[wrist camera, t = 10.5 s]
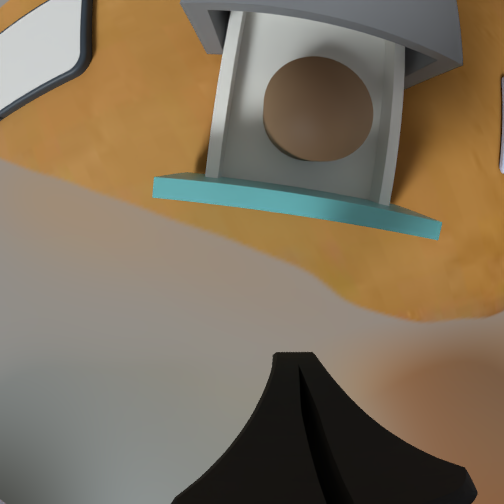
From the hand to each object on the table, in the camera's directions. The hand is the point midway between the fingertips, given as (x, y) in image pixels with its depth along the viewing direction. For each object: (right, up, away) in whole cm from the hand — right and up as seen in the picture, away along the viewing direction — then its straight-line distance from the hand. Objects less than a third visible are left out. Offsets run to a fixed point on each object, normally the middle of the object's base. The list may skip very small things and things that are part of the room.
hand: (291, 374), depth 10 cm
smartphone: (-20, +19, +5) cm, 28 cm away
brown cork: (+1, +11, +4) cm, 12 cm away
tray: (+2, +13, +5) cm, 14 cm away
